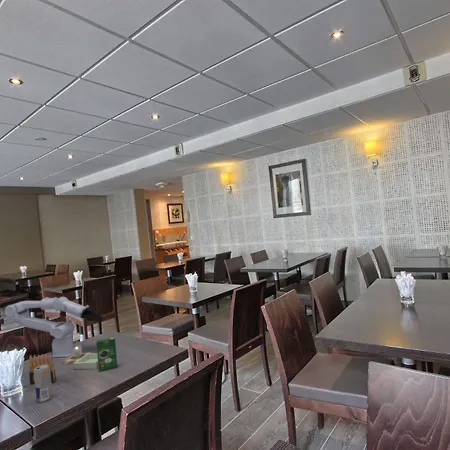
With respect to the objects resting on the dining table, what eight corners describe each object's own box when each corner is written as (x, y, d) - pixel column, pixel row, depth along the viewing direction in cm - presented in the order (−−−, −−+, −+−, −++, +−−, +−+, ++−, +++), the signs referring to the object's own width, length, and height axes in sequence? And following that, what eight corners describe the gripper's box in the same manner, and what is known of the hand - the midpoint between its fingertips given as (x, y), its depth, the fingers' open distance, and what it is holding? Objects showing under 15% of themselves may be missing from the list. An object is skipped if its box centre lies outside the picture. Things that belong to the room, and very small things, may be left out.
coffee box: (117, 365, 151) (114, 336, 151) (118, 367, 148) (115, 337, 148) (98, 369, 148) (95, 340, 148) (98, 372, 146) (95, 341, 146)
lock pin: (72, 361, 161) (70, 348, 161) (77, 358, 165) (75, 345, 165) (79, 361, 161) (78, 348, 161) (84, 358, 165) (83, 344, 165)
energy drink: (40, 396, 128) (37, 365, 128) (55, 394, 129) (51, 363, 129) (34, 403, 123) (30, 371, 123) (49, 401, 123) (45, 369, 123)
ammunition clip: (56, 381, 141) (53, 352, 141) (53, 383, 139) (50, 354, 139) (32, 382, 142) (29, 354, 142) (29, 384, 140) (26, 356, 140)
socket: (62, 364, 159) (62, 361, 159) (75, 356, 169) (74, 353, 169) (81, 363, 157) (81, 360, 157) (93, 355, 167) (93, 352, 167)
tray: (74, 370, 151) (73, 363, 151) (88, 359, 162) (87, 353, 162) (96, 369, 149) (95, 362, 149) (109, 359, 160) (108, 352, 160)
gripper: (74, 299, 167) (99, 308, 165) (85, 304, 180) (107, 313, 178) (67, 313, 164) (92, 322, 162) (78, 317, 177) (101, 326, 176)
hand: (99, 318), depth 170 cm, fingers open, 7 cm apart
